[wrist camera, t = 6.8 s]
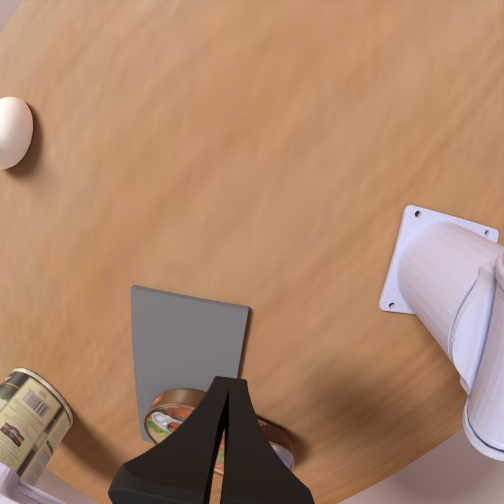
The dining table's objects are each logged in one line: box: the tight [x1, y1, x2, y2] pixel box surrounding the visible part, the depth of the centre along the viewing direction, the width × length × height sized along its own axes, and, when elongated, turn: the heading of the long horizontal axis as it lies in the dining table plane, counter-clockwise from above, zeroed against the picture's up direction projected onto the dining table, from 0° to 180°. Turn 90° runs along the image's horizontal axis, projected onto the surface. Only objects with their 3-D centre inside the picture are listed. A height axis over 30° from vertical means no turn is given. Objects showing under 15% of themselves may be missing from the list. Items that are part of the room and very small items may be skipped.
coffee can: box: [0, 368, 73, 487], centre depth 23 cm, size 10×10×14 cm
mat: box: [131, 285, 249, 443], centre depth 26 cm, size 9×19×1 cm, turn 171°
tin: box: [143, 388, 295, 477], centre depth 26 cm, size 15×3×8 cm
